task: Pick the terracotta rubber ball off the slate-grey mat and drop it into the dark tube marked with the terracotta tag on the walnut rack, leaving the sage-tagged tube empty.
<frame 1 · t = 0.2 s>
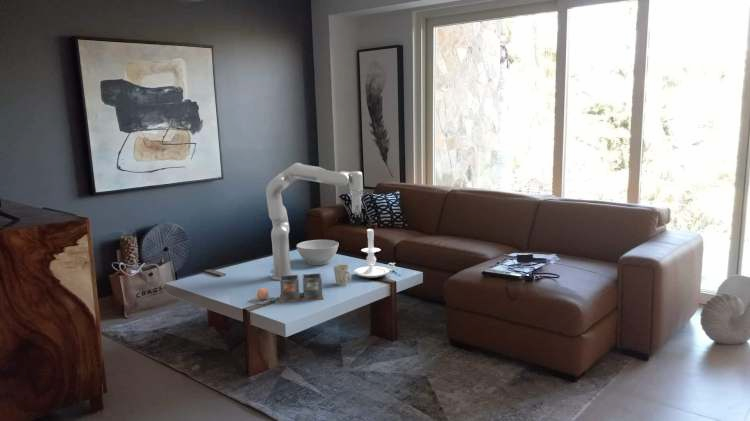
hand: (357, 222, 342), 31 cm above the table, tool pointing down, fingers open, 9 cm apart
tube rack: (301, 297, 306), on the table
mat: (262, 300, 303), on the table
mug: (344, 284, 328), on the table
candlestick: (375, 276, 342), on the table
decorative bowl: (318, 263, 377), on the table
ball: (262, 293, 303), point 3 cm above the table, touching mat
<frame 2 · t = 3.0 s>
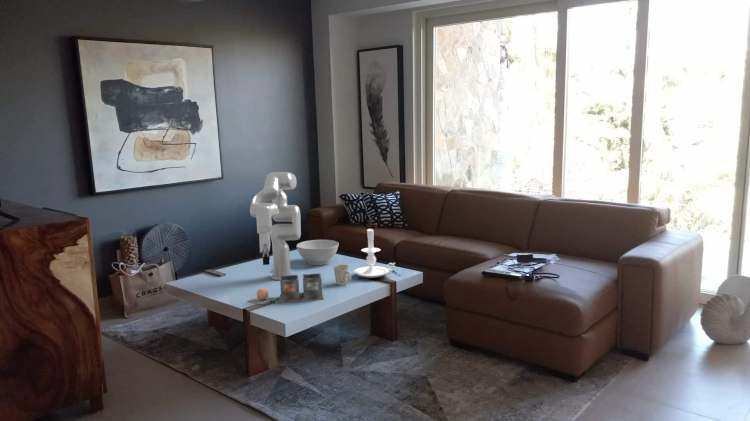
hand: (266, 262, 302), 19 cm above the table, tool pointing down, fingers open, 9 cm apart
nothing on the table moved.
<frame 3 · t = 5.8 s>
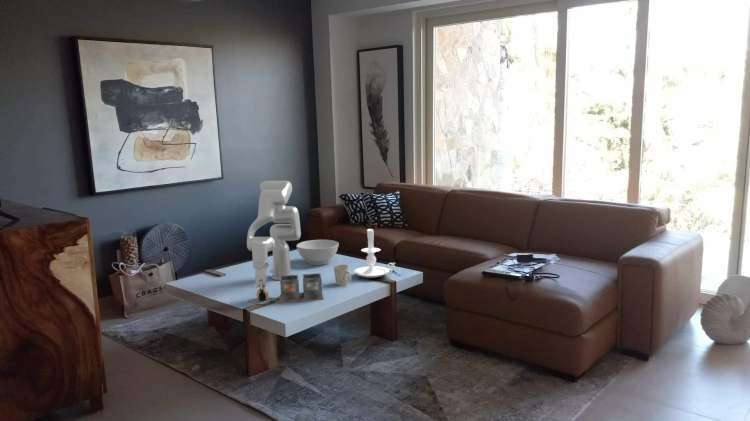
hand: (262, 298, 303), 1 cm above the table, tool pointing down, fingers closed on ball, 5 cm apart
ball: (262, 294, 303), point 3 cm above the table, touching gripper, mat
everything else where it was.
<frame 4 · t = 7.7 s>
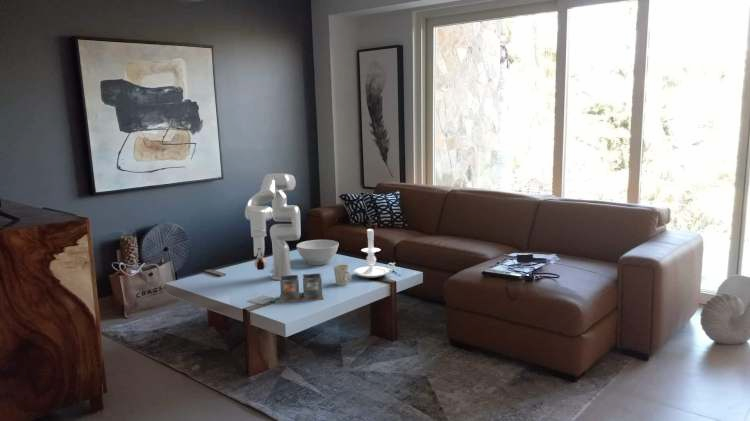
hand: (260, 267, 301), 17 cm above the table, tool pointing down, fingers closed on ball, 5 cm apart
ball: (260, 263, 300), point 20 cm above the table, touching gripper
everything else where it was.
when the fingers open (14 cm above the table, at t = 9.8 s): ball drops 12 cm, resting on tube rack.
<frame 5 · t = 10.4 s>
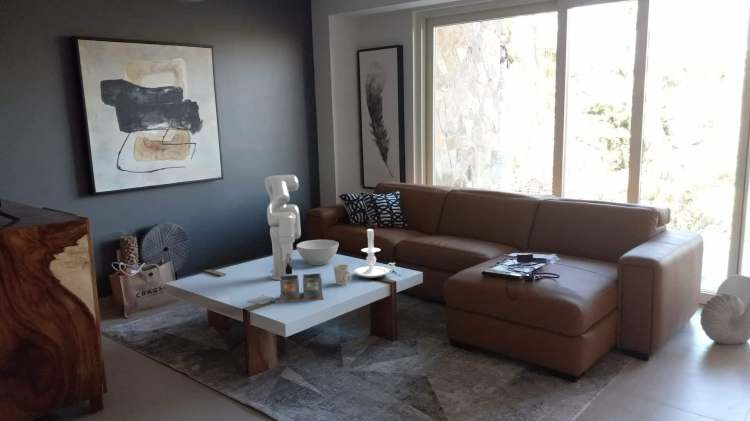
hand: (288, 271, 303), 14 cm above the table, tool pointing down, fingers open, 9 cm apart
ball: (289, 290, 305), point 4 cm above the table, touching tube rack
everything else where it was.
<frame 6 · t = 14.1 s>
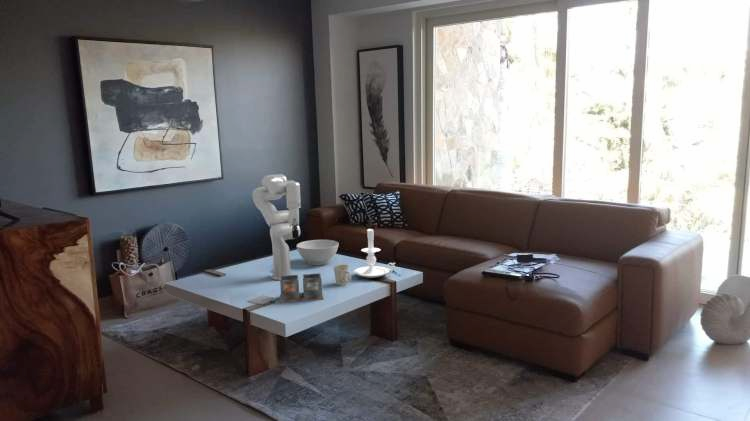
hand: (295, 236, 322), 28 cm above the table, tool pointing down, fingers open, 9 cm apart
nothing on the table moved.
at the end: ball 0.1 cm from the target spot, point 4.0 cm above the table; the gripper is holding nothing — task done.
